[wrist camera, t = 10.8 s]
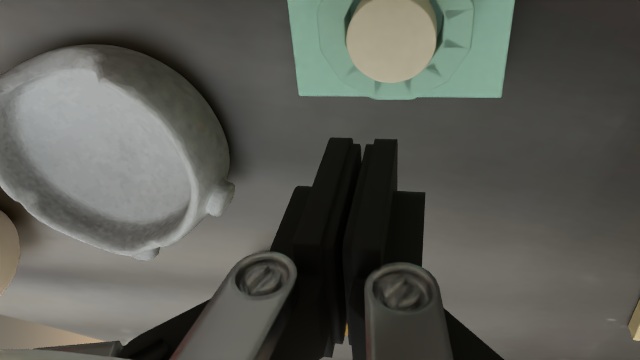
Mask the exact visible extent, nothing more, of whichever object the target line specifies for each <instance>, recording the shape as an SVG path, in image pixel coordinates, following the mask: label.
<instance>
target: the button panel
mask: <svg viewBox="0 0 640 360" xmlns="http://www.w3.org/2000/svg"><path fill="white" fill-rule="evenodd" d="M360 1H361V0H287V2H288V10H289V19H290V27H291V35H292V43H293V52H294V60H295V68H296V77H297V85H298V93H299V96H369V97H370V98H372V99H375V100H412V99H414V98H416V97H477V98H501V96H502V89H503V82H504V75H505V68H506V61H507V54H508V47H509V39H510V32H511V25H512V18H513V11H514V4H515V0H429V2H430V3H431V5H432V7H433V9H434V11H435V15H436V20H437V41H436V48H435V52H434V54H433V57H432V59H431V60H430V62H429V64H428V65H427V66H426V67H425V68H424V69H423V70H422V71H421V72H420V73H419V74H418V75H416V76H414V77H413V78H410V79H408V80H405V81H402V82H397V83H385V82H379V81H376V80H374V79H371V78H369V77H368V76H366V75H364V74H363V73H362V72H361V71H360V70H359V69H358V68H357V67H356V66H355V65H354V63H353V62H352V60H351V58H350V56H349V53H348V50H347V44H346V36H347V30H348V26H349V24H350V21H351V19H352V17H353V14H354V12H355V10H356V8H357V6H358V4H359V3H360Z"/></svg>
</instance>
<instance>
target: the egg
mask: <svg viewBox="0 0 640 360" xmlns="http://www.w3.org/2000/svg"><path fill="white" fill-rule="evenodd" d="M19 259H20V241H19V237H18V233H17V230H16V228H15V226H14V224H13V223H12V221H11V220H10V219H9V218H8V216H7V215H6V214H5V213H3V212H2V211H1V210H0V296H1V295H2V294H3V292H4V291H5V290H6V288H7V287H8V285H9V284H10V283H11V281H12V279H13V277H14V275H15V273H16V270H17V267H18V263H19Z"/></svg>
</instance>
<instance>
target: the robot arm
mask: <svg viewBox="0 0 640 360" xmlns="http://www.w3.org/2000/svg"><path fill="white" fill-rule="evenodd" d="M397 151H398V144H397V139H375V141H374V144H366V147H365V152H364V156H363V160H362V163H361V146H360V144H353V139H352V138H330V139H329V142H328V144H327V147H326V150H325V153H324V155H323V158H322V161H321V164H320V166H319V169H318V172H317V175H316V177H315V180H314V183H313V186H312V187H309V186H297V187H296V188H295V190H294V192H293V194H292V197H291V199H290V202H289V204H288V207H287V209H286V211H285V214H284V216H283V219H282V221H281V224H280V226H279V229H278V231H277V233H276V236H275V238H274V241H273V243H272V246H271V248H270V251H269V252H268V251H266V252H259V253H255V254H252V255H249V256H247V257H245V258H243V259H242V260H240V261H239V262H238V263H237V264H236V265H235V266H234V267H233V268H232V269H231V271H230V272H229V273H228V275H227V276H226V278H225V279H224V281H223V282H222V284H221V285H220V287H219V288H218V289H217V291H216V292H215V294H214V295H213V297H212V298H211V299H209V300H207V301H205V302H204V303H202V304H200V305H198V306H196V307H194V308H192V309H190V310H188V311H186V312H184V313H182V314H180V315H178V316H176V317H174V318H172V319H170V320H168V321H166V322H164V323H162V324H160V325H158V326H156V327H154V328H153V329H151V330H149V331H147V332H145V333H143V334H141V335H139V336H138V337H136V338H134V339H133V340H131V341H130V342H129V343H128V344H127V345H126V346H122V345H121V343H120V341H112V342H100V343H90V344H78V345H67V346H56V347H44V348H36V349H0V360H319V359H321V358H322V357H331V358H332V355H333V350H334V345H335V343H337V344H343V341H344V337H345V331H346V326H347V325H348V338H349V345H352V355H353V360H504V359H503V358H502V357H500V356H499V355H498V354H497V353H496V352H495V351H493V350H492V349H491V348H490V347H489V346H488V345H486V344H485V343H484V342H483V341H482V340H481V339H479V338H478V337H477V336H476V335H475V334H473V333H472V332H471V331H470V330H469V329H468V328H466V327H465V326H464V325H463V324H462V323H461V322H459V321H458V320H457V319H456V318H455V317H454V316H452V315H451V314H450V313H449V312H448V311H447V310H445V309H444V308H443V304H442V299H441V294H440V288H439V286H438V283H437V281H436V279H435V278H434V277H433V275H432V274H431V273H430V272H429V271H427V270H425V269H424V268H422V251H423V231H424V210H425V192H407V191H397Z"/></svg>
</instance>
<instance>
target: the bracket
mask: <svg viewBox="0 0 640 360" xmlns="http://www.w3.org/2000/svg"><path fill="white" fill-rule="evenodd" d="M628 327H629V329H630V332H631V335H632V338H633V340H638V341H640V299H639V302H638V304H637V306H636V309H635V311H634V313H633V316H632V318H631V320H630V323H629V325H628Z"/></svg>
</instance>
